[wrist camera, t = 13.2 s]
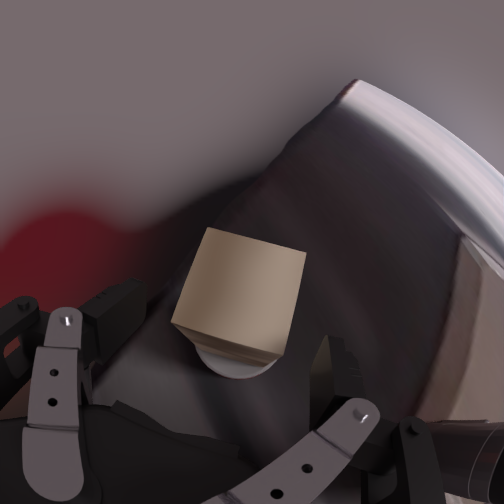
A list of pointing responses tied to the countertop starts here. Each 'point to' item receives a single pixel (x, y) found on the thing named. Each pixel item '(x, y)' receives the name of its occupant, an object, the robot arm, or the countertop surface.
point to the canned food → (231, 366)
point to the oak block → (240, 297)
